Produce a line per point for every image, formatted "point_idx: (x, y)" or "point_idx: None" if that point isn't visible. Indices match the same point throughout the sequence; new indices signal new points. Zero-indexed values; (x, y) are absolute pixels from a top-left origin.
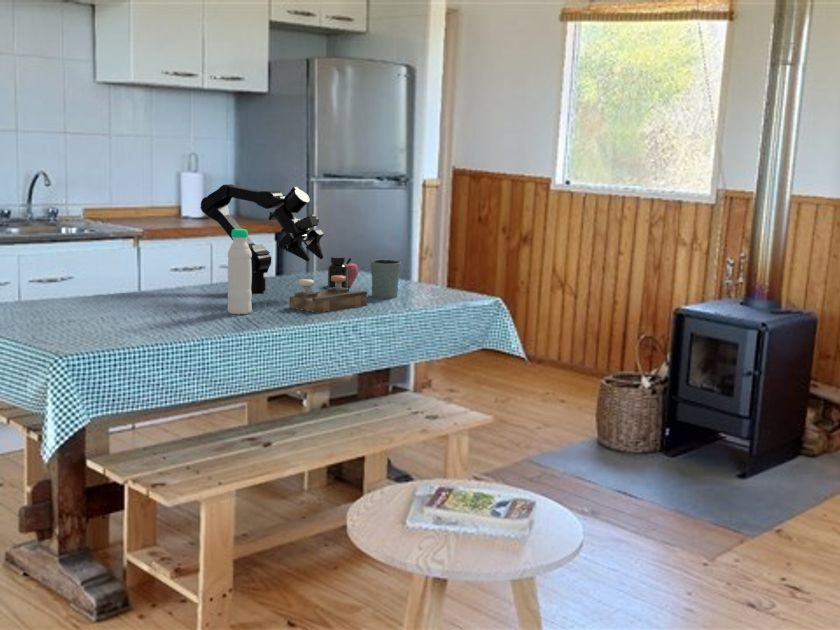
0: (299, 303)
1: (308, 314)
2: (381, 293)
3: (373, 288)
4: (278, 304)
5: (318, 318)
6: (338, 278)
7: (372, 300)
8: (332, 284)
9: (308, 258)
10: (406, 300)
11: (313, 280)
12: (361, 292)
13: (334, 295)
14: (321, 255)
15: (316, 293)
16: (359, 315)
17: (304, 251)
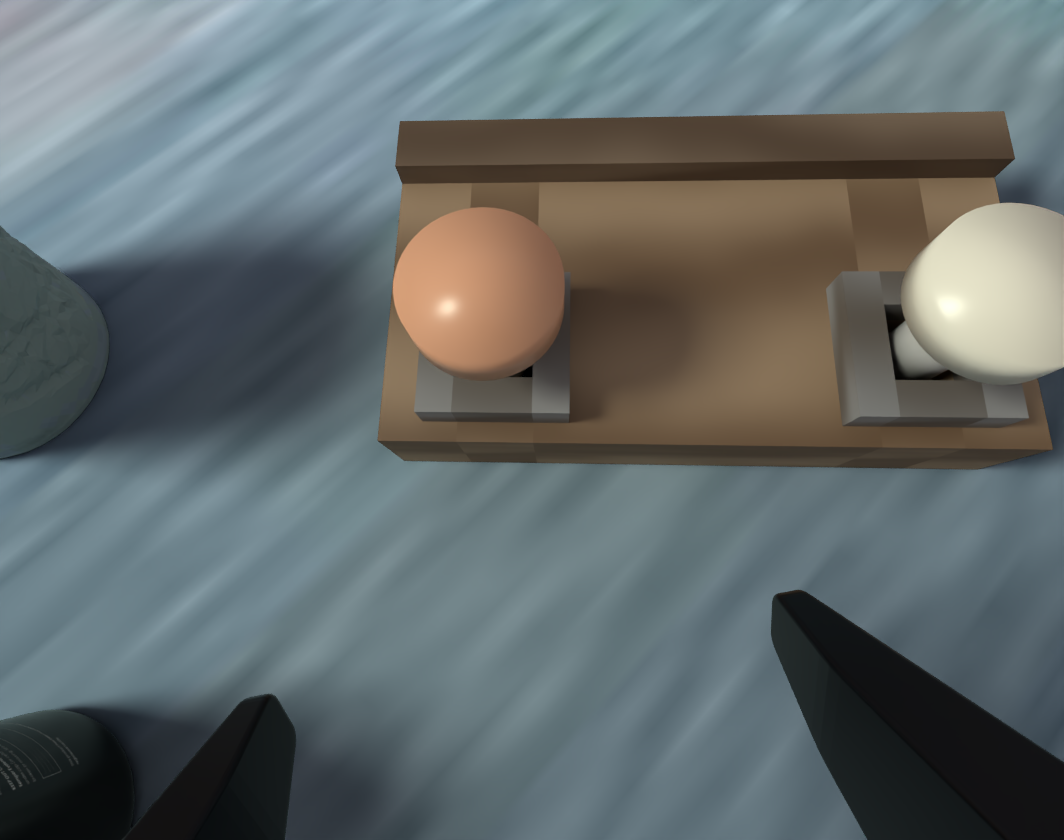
0: None
1: (1001, 199)
2: (79, 305)
3: (39, 373)
4: (971, 652)
5: (1021, 76)
6: (541, 233)
7: (231, 303)
8: (78, 822)
9: (823, 606)
10: (72, 169)
11: (950, 231)
12: (469, 120)
13: (771, 134)
14: (251, 745)
15: (855, 273)
16: (729, 10)
17: (1007, 755)
